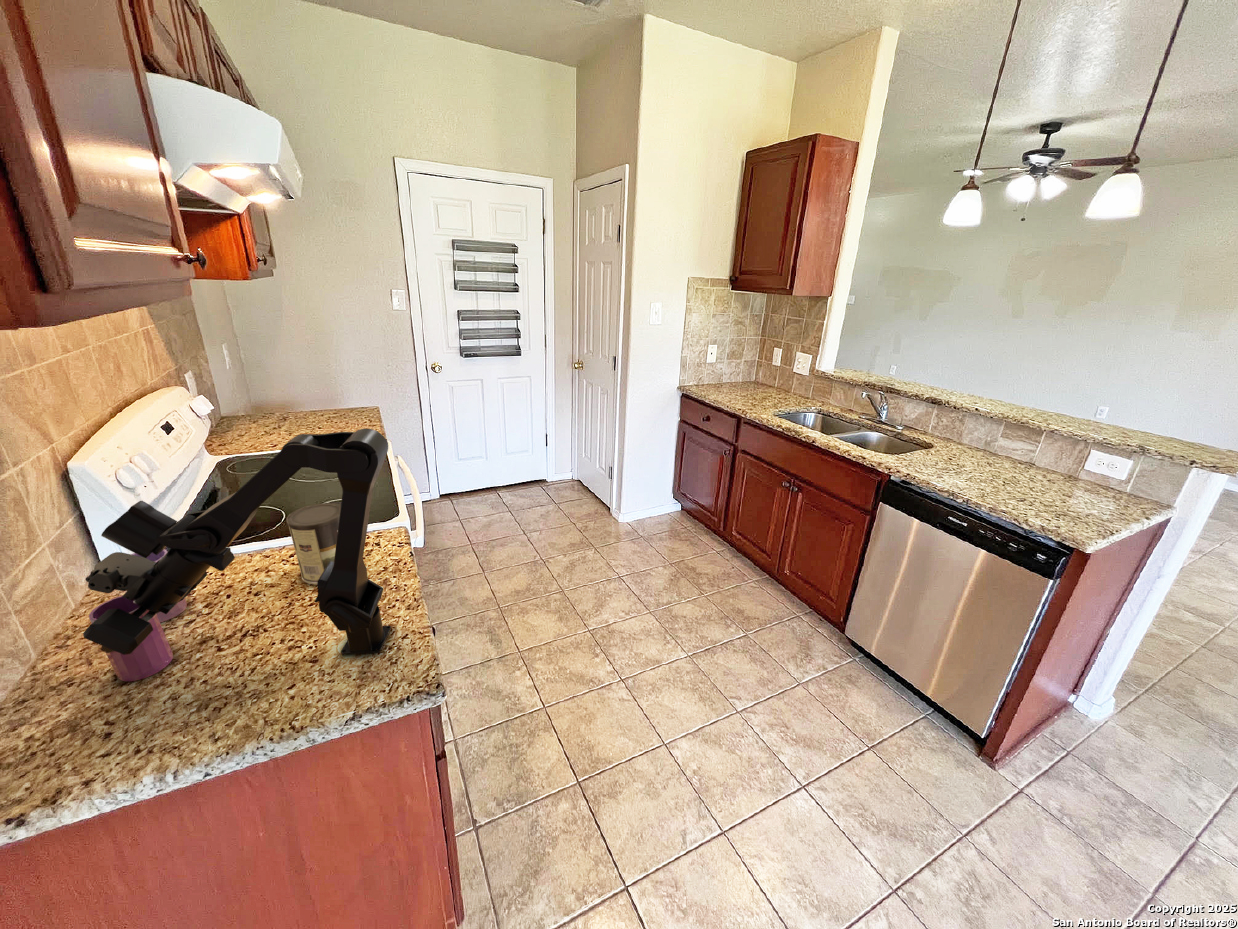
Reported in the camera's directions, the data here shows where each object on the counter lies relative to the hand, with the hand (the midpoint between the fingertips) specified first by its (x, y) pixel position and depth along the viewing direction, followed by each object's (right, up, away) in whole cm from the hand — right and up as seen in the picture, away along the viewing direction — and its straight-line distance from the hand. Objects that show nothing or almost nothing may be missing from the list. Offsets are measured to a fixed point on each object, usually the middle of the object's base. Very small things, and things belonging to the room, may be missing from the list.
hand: (122, 634), depth 78 cm
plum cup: (+1, -6, +3) cm, 7 cm away
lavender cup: (-7, -1, +15) cm, 16 cm away
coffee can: (+16, +4, +29) cm, 33 cm away
